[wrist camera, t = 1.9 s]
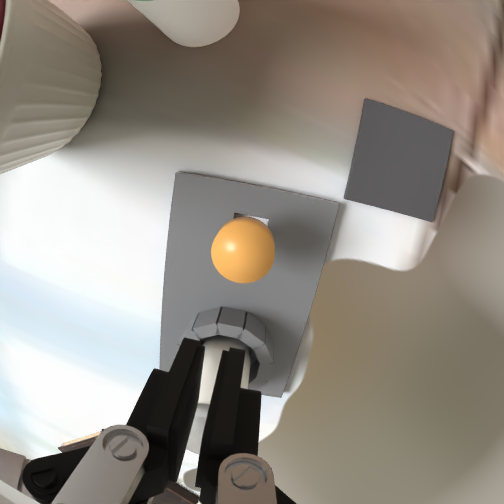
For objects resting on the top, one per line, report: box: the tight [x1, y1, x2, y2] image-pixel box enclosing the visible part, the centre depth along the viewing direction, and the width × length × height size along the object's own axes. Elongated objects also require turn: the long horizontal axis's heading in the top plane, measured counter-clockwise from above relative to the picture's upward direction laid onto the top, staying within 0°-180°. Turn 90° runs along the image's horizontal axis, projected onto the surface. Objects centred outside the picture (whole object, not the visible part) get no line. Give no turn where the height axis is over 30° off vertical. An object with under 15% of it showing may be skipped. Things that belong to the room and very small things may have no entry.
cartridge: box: [186, 335, 252, 454], centre depth 26 cm, size 5×5×12 cm
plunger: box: [211, 217, 275, 283], centre depth 24 cm, size 4×4×4 cm
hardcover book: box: [58, 429, 199, 504], centre depth 44 cm, size 16×23×2 cm
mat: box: [344, 99, 453, 222], centre depth 25 cm, size 9×9×1 cm
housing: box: [160, 172, 339, 398], centre depth 29 cm, size 14×22×4 cm, turn 169°
